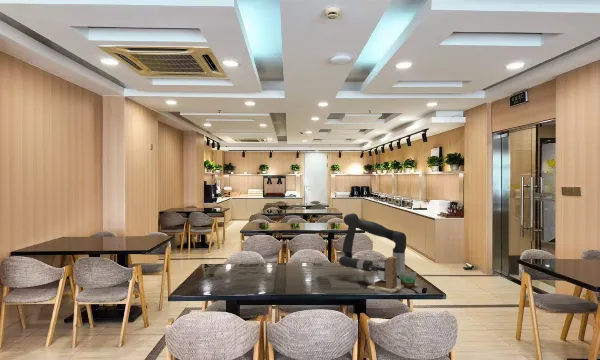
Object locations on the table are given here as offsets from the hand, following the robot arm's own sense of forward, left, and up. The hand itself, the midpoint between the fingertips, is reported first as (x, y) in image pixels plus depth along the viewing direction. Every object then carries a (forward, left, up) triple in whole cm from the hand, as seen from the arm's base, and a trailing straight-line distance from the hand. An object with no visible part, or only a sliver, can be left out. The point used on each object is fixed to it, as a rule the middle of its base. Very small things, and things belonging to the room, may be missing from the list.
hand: (386, 269), depth 257 cm
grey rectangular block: (0, -3, -7) cm, 8 cm away
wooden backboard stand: (0, -1, -13) cm, 13 cm away
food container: (-13, +10, -13) cm, 21 cm away
